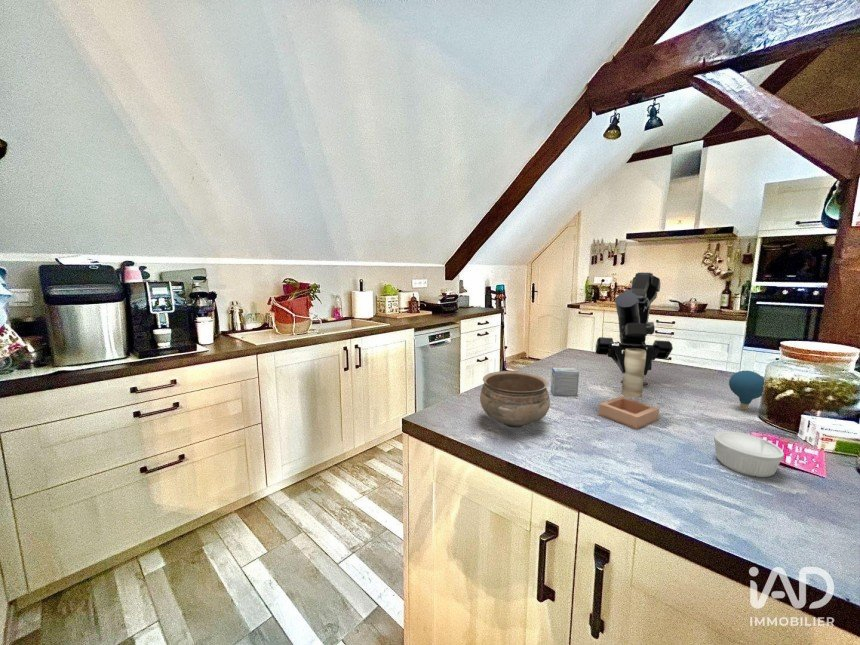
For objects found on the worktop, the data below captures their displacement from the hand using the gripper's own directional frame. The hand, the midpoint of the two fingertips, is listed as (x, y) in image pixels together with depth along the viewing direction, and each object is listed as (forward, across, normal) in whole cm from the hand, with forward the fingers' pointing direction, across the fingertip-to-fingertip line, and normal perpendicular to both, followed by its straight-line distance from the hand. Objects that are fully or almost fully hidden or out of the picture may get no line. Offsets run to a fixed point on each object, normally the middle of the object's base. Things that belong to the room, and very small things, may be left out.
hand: (634, 373), depth 97 cm
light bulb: (-3, +34, +23) cm, 41 cm away
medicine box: (-1, -17, +21) cm, 27 cm away
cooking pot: (+18, -31, +2) cm, 36 cm away
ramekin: (+22, +19, -3) cm, 29 cm away
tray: (+9, 0, +11) cm, 14 cm away
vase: (+4, 0, +6) cm, 7 cm away
